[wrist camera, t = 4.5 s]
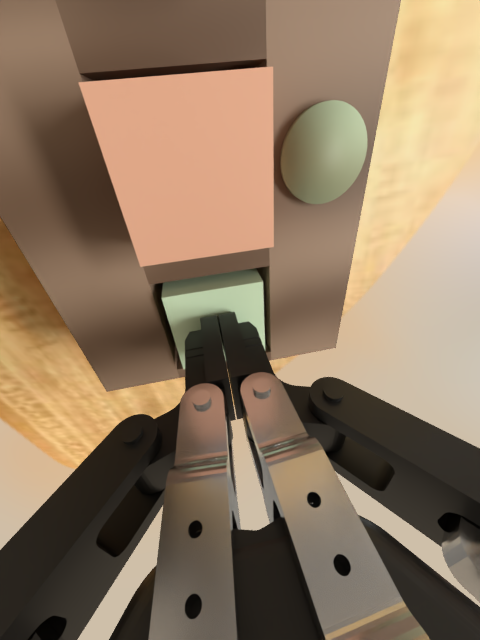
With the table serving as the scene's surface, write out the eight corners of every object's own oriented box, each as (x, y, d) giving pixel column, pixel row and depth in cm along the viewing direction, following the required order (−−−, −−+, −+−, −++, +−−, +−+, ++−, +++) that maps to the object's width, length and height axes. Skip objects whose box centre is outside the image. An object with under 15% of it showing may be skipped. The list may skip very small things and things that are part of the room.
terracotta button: (120, 101, 9) (78, 82, 5) (237, 90, 9) (273, 66, 6) (153, 222, 11) (140, 266, 8) (245, 210, 12) (274, 246, 8)
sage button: (166, 253, 14) (161, 297, 10) (242, 242, 14) (263, 281, 10) (182, 315, 16) (183, 369, 12) (246, 304, 16) (265, 353, 13)
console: (-140, -259, 6) (-822, -1085, 2) (340, -243, 7) (555, -741, 3) (124, 330, 17) (105, 396, 13) (301, 299, 18) (338, 351, 14)
